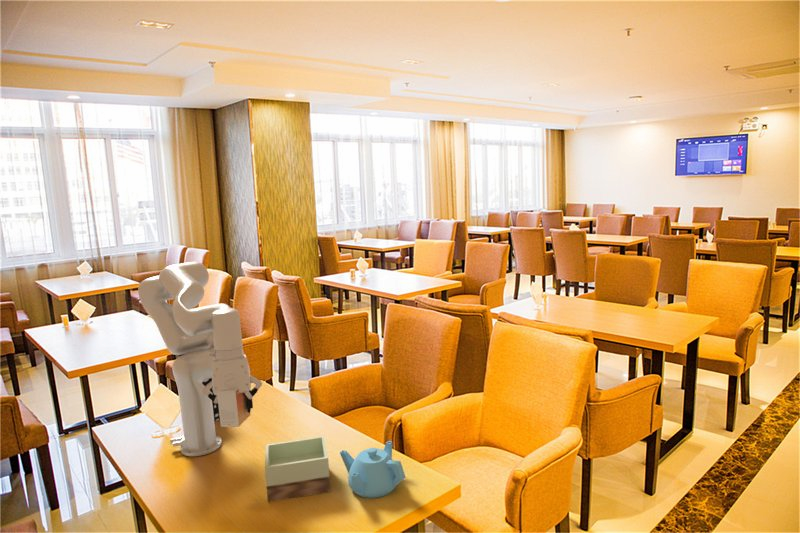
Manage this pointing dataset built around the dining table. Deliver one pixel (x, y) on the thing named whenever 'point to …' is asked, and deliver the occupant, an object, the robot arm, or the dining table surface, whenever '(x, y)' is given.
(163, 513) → the dining table surface
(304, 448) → the upper crate
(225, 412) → the small box
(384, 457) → the teapot
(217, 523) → the dining table surface
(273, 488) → the lower crate
